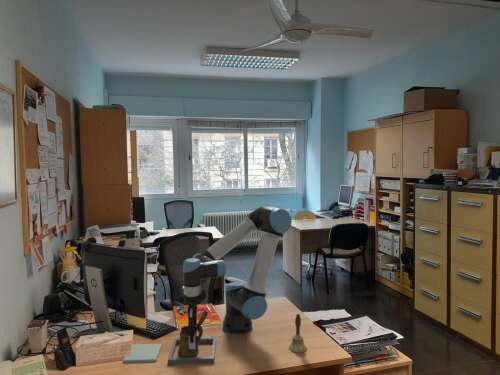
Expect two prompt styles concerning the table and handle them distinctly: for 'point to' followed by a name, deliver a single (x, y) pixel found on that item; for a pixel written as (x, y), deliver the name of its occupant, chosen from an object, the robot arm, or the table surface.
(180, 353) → the wooden mug
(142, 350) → the coaster
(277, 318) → the table surface
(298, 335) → the hand bell
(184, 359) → the frame
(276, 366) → the table surface
